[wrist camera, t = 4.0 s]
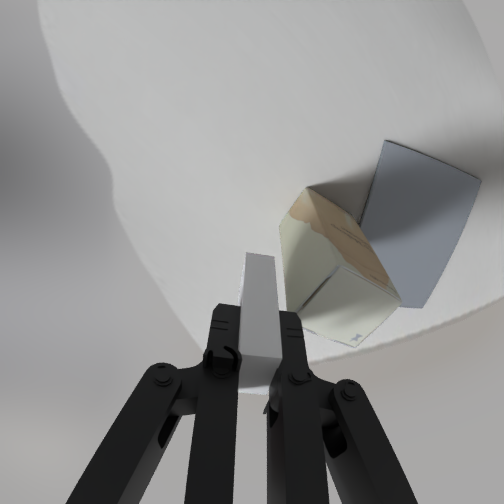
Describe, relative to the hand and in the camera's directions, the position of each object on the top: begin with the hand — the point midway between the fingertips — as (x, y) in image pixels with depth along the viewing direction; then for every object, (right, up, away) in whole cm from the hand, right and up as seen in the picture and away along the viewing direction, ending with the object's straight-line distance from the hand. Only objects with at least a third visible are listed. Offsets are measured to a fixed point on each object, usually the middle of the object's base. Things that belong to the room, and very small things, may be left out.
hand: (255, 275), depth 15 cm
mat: (+15, +2, +8) cm, 17 cm away
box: (+5, +4, +8) cm, 10 cm away
